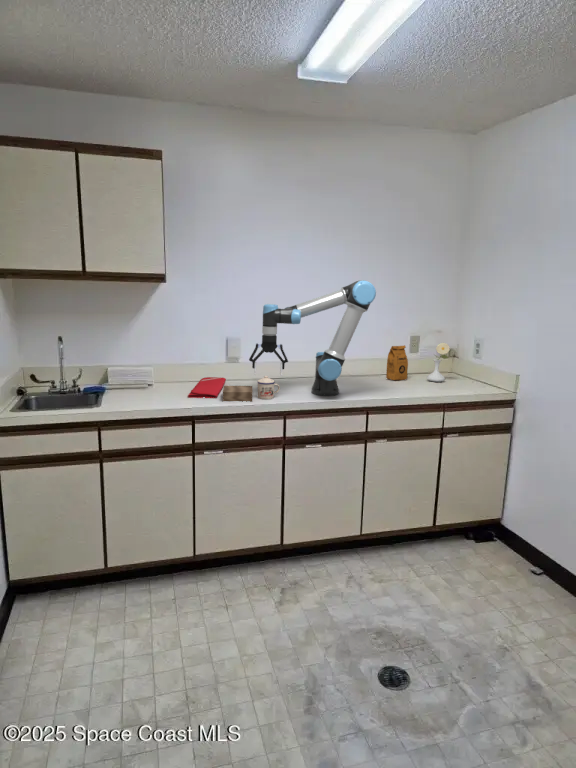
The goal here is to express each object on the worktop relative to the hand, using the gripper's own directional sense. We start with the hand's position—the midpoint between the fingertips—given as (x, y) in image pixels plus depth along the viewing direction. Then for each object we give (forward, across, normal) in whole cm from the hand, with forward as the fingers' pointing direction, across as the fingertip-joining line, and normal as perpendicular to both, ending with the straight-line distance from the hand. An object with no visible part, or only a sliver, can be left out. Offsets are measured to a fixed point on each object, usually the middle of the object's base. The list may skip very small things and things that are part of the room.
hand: (268, 375), depth 268 cm
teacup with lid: (+12, -1, 0) cm, 12 cm away
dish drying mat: (+13, +32, -18) cm, 40 cm away
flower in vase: (+11, -110, -48) cm, 120 cm away
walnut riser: (+12, +15, +2) cm, 20 cm away
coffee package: (+11, -85, -52) cm, 100 cm away
